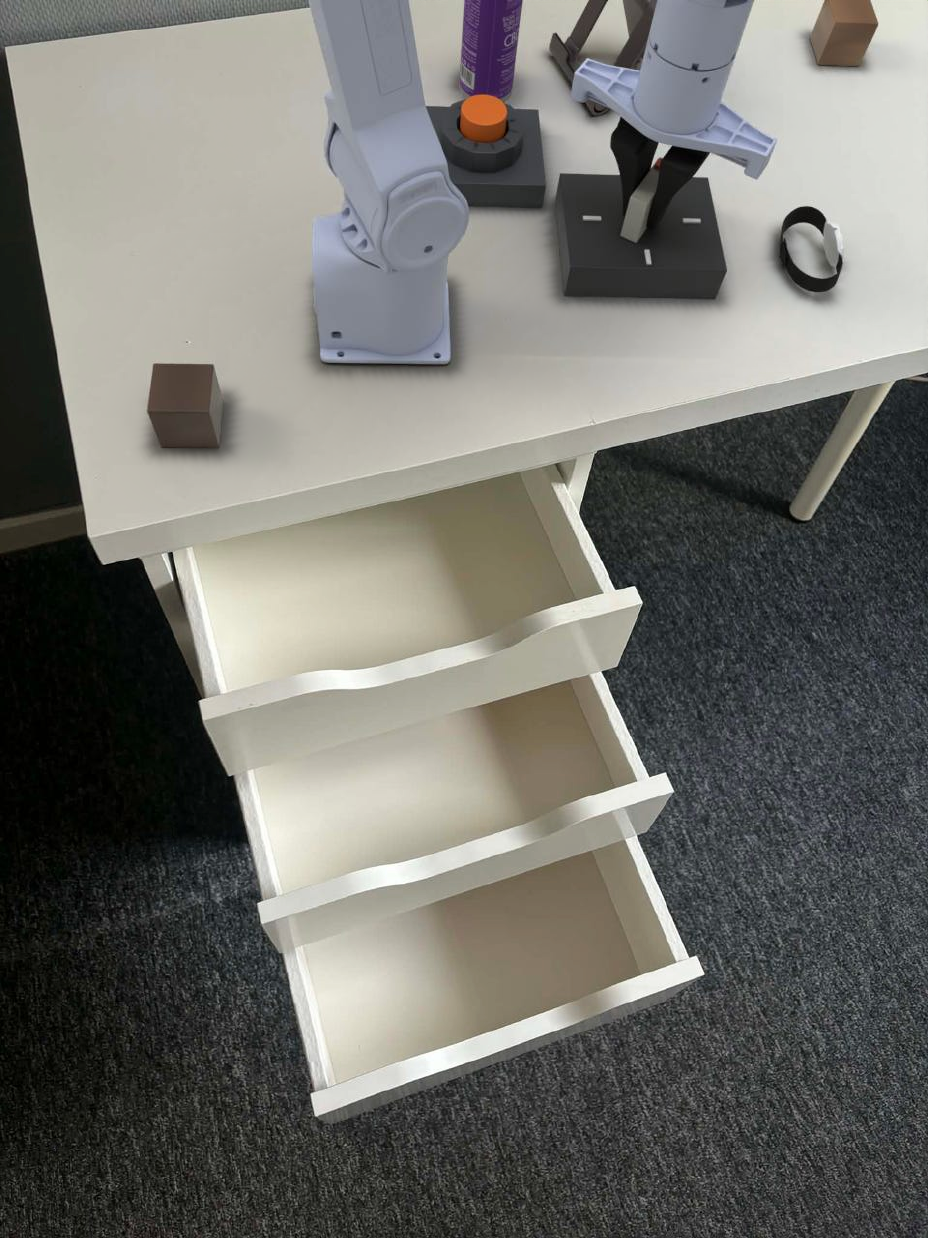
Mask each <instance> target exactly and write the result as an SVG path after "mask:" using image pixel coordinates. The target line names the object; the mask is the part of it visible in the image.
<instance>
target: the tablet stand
mask: <svg viewBox="0 0 928 1238" xmlns="http://www.w3.org/2000/svg"><path fill="white" fill-rule="evenodd" d="M608 2H609V0H588V1H587V3H586V5H585V7H584V8H583V10H582V12H581V14H580V16H579V18H578V20H577V22H576V24H575V26H574V27H573V28H572V29H573V30H572V32H571V33H570V35H569V36H568V37H567V38H566V39H565V42H564V41H563V40H562V38H561V37H560V35H559V34H558V33H557V31H556V32H553V33H552V35H551V38H550V42H549V46H548V48H549V52H550V54H551V55H552V56H553V58H554V60H555V61H556V63H557V64H558V65H559V67H560V69H561V70H562V72H563V73H564V74H565V76H566V77H567V79H568V80H569V81H570V83H571V85H573V79H574V74H575V72H576V71H577V69H578V68H579V67H580V66H581V65H582V64H581V63H580V62H579V61H578V57H579V55H580V53H581V52H582V49H583V48H584V45H585V44H586V42H587V40H588V38H589V36H590V35H591V33H592V31H593V29H594V27H595V26H596V23H597V22H598V21H599V18H600V16H601V14H602V12H603V11H604V9H605V7H606V5H607V4H608ZM622 4H623V10H624V16H625V17H624V18H625V23H626V27H627V34H628V39H627V41H626V42H625V44H624V46H623V48H622V49H621V51H620V53H619V54H618V56H617V58H616V60H615V62H614V64H613V65H612V66H616V67H622V68H628V69H633V68H634V66H635V65H636V63H638V64H639V63H642V60H643V57H644V53H645V49H646V45H647V41H648V36H649V32H650V29H651V24H652V20H653V16H654V12H655V8H656V4H657V0H622ZM584 103H585V105H586V107H587V109H588V110H589V111H590V113H591V114H592V115H593V116H595V117H599V116H601V115H603V114H605V113H606V112H607V111H608V110H609V109H610V108H608V107H605V106H603V105H601V104H599V103H596V102H594V101H592V100H589V99H587V100H586V101H585V102H584Z"/></svg>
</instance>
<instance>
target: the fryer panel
mask: <svg viewBox="0 0 928 1238" xmlns="http://www.w3.org/2000/svg"><path fill="white" fill-rule="evenodd" d="M558 176H559V177H558V181H557V182H558V183H557V187H556V193H555V198H554V211H555V212H554V214H555V222H556V223H555V224H556V232H557V242H558V253H559V261H560V270H561V271H560V272H561V278H562V279H561V280H562V281H561V282H562V290H563V296H564V297H584V298H588V297H589V298H590V297H591V298H637V299H638V298H641V299H642V298H643V299H648V298H649V299H685V300H687V299H691V300H693V299H694V300H716V298H717V296H718V294H719V292H720V289H721V286H722V284H723V282H724V280H725V278H726V275H727V272H728V269H727V268H728V267H727V263H726V257H725V253H724V249H723V248H724V247H723V244H722V239H721V234H720V229H719V225H718V224H719V223H718V218H717V215H716V210H715V204H714V199H713V195H712V194H713V193H712V190H711V185H710V180H709V177H705V176H704V177H703V176H693V177H692V178H691V179H690V180H689V181H688V182H687V183H686V184H685V185H684V186H683V187H682V188H681V189H680V190H679V191H678V192H677V193H676V194H675V195H674V196H673V198H672V200H671V201H670V203H669V205H668V207H667V209H666V212H665V214H664V216H663V217H662V219H661V220H660V222H659V223H658V225H657V226H656V227H655V229H653V230H652V229H650V228H648V227H647V228H646V230H645V231H644V233H643V234H642V236H641V237H640V239H639V240H638V241H637V243H635V242H633V241H631V240H628V239H626V238H624V237H622V236H620V235H621V231H622V227H623V223H624V220H625V217H624V216H623V215H622V213H623V196H622V185H621V178H620V174H599V173H596V174H595V173H567V172H566V173H565V172H561V173H559V175H558Z"/></svg>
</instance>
